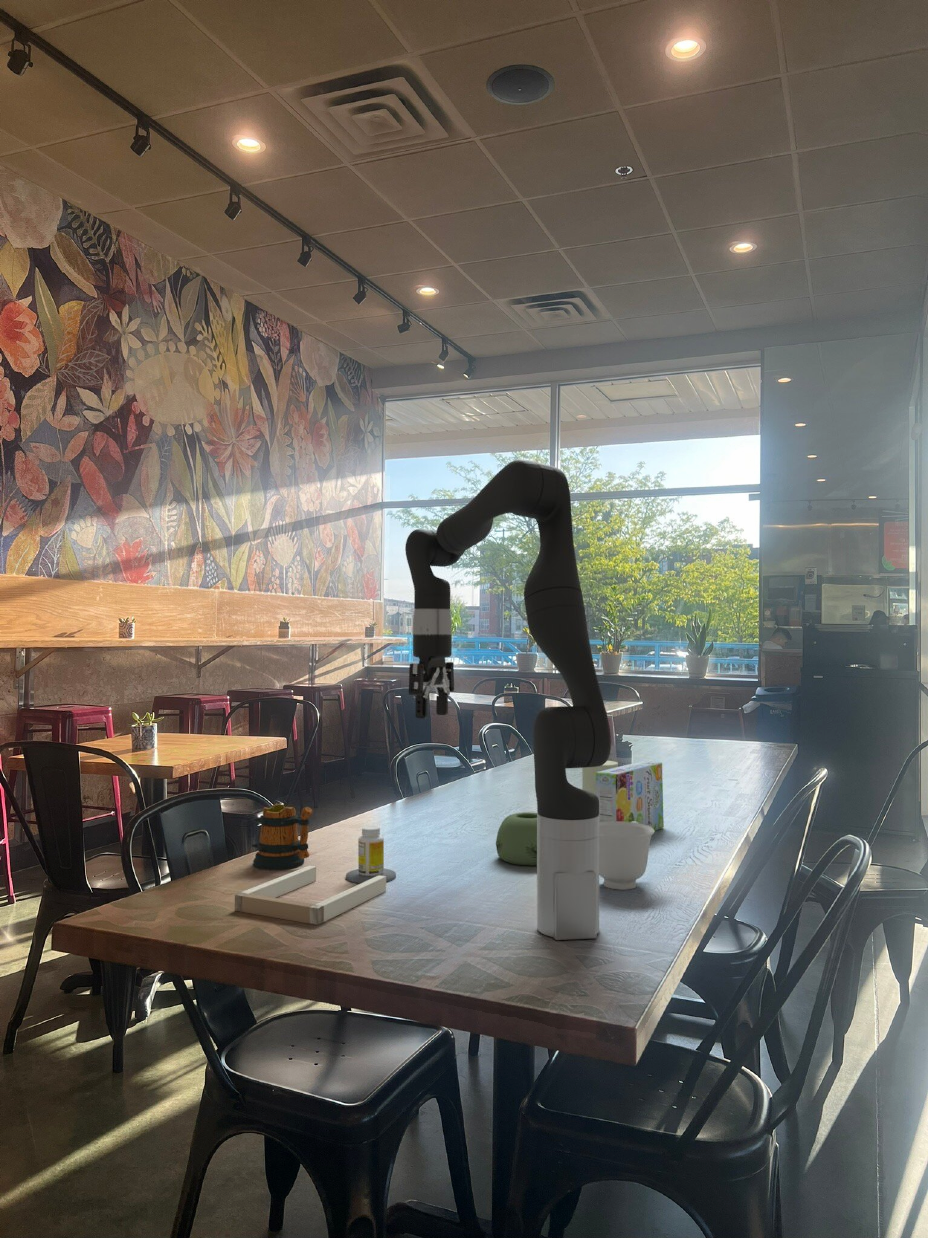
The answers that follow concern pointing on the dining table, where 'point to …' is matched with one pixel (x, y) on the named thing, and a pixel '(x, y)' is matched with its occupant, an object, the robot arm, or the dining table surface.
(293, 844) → the mug
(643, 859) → the teacup
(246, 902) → the beige frame
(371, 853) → the supplement bottle
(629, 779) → the snack box
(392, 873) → the coaster
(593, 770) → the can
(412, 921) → the dining table surface
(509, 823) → the mug
